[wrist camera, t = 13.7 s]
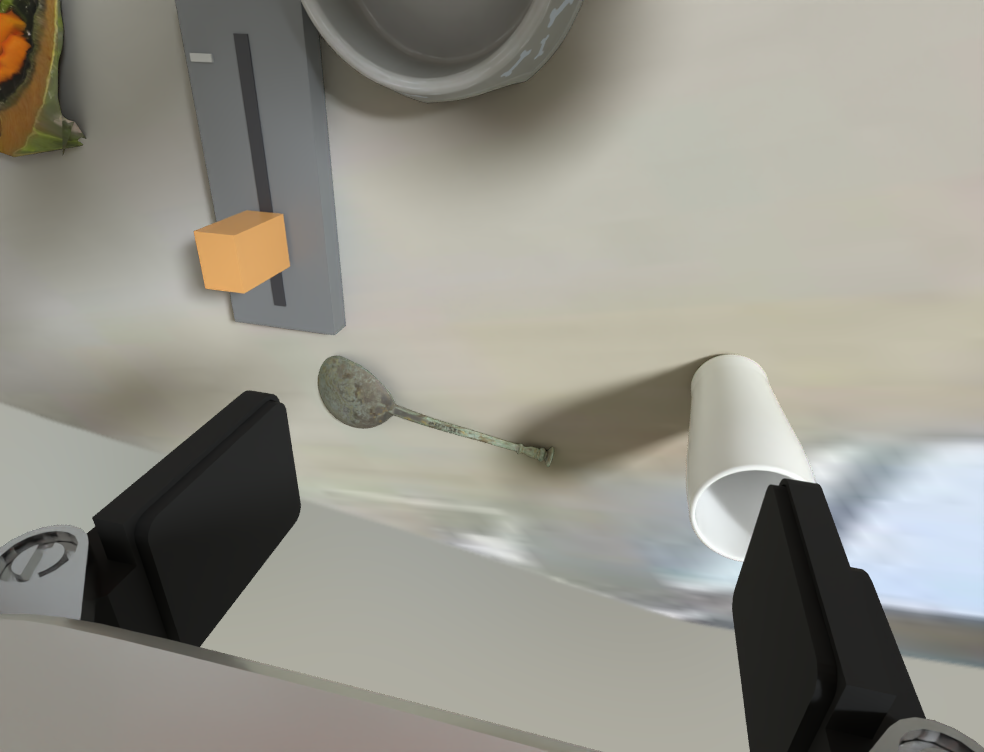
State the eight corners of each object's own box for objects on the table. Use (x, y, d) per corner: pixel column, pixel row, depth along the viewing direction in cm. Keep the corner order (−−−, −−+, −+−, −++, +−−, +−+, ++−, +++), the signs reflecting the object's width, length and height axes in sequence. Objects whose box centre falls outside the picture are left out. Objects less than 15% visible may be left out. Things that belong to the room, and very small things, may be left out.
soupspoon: (325, 338, 53) (321, 397, 57) (304, 355, 50) (301, 417, 54) (564, 423, 50) (544, 480, 54) (557, 447, 48) (535, 505, 51)
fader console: (194, -2, 41) (172, -5, 39) (316, 1, 40) (298, -2, 38) (248, 312, 52) (233, 322, 51) (345, 325, 51) (333, 336, 49)
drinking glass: (697, 432, 48) (710, 575, 35) (667, 359, 45) (669, 482, 32) (789, 408, 45) (841, 553, 32) (762, 328, 43) (806, 450, 30)
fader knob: (246, 210, 45) (193, 231, 40) (283, 213, 45) (234, 235, 40) (254, 262, 47) (205, 288, 42) (290, 266, 47) (244, 293, 41)
